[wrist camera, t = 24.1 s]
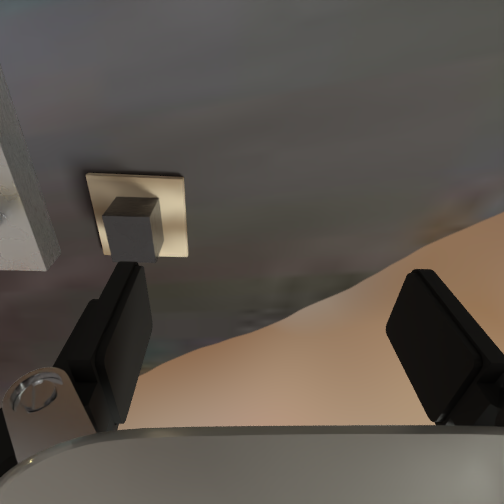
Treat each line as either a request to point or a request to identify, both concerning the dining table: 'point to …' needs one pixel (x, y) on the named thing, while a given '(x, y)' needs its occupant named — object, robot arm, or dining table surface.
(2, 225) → the plane body
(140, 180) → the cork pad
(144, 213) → the dark grey block
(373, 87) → the dining table surface
